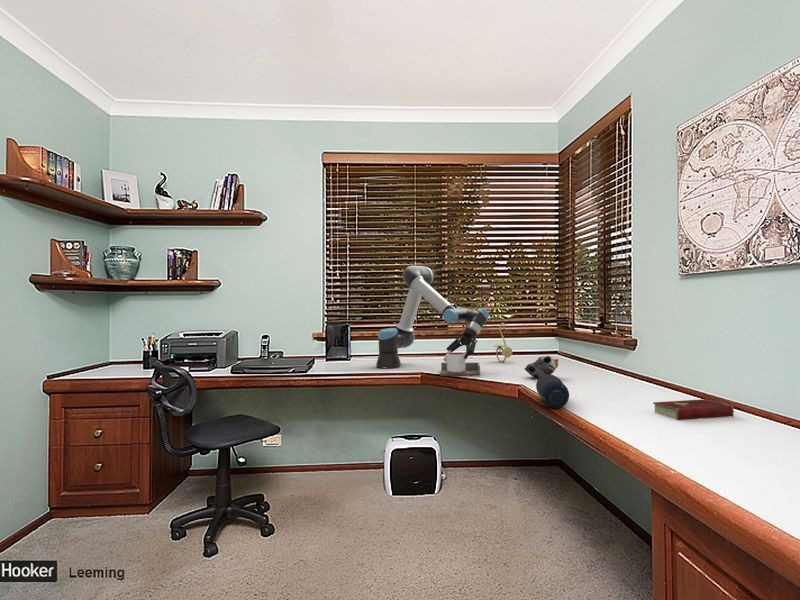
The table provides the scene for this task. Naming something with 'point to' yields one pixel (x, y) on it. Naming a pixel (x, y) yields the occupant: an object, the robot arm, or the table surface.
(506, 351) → the wall sconce
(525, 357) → the table surface
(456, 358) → the cup
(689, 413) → the hardcover book
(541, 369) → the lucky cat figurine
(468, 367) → the pen walls
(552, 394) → the portable speaker
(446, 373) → the pen base
